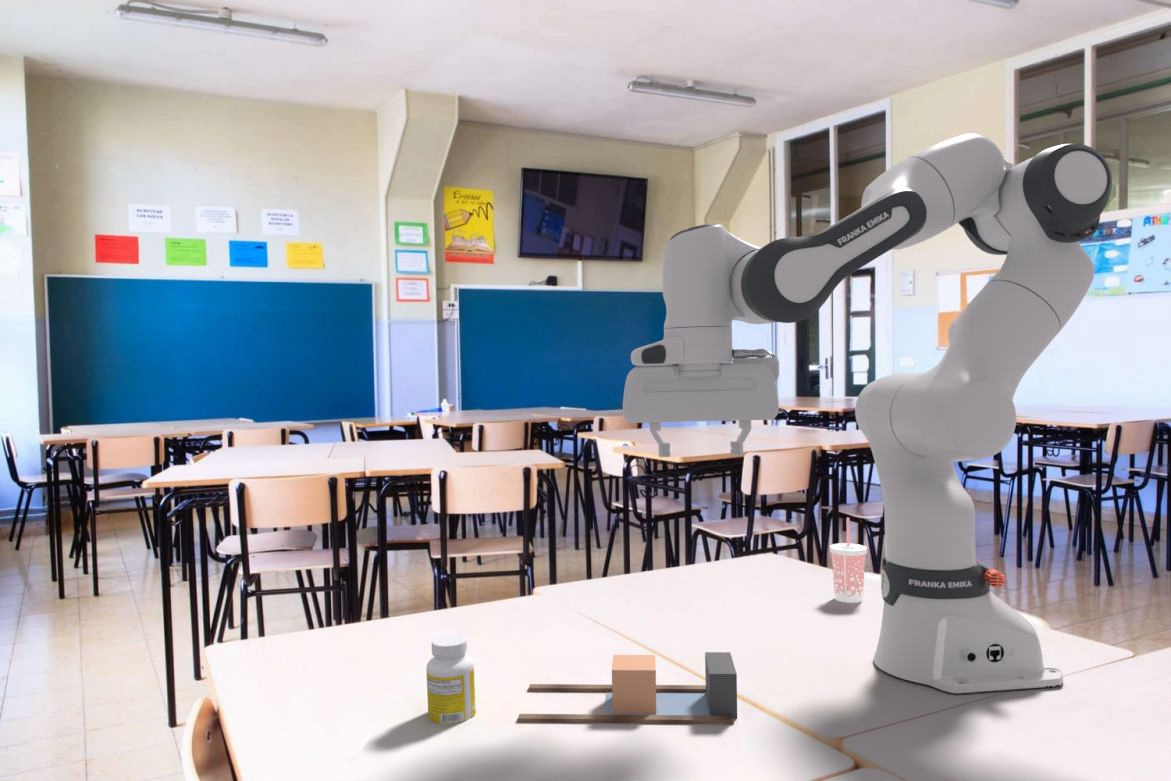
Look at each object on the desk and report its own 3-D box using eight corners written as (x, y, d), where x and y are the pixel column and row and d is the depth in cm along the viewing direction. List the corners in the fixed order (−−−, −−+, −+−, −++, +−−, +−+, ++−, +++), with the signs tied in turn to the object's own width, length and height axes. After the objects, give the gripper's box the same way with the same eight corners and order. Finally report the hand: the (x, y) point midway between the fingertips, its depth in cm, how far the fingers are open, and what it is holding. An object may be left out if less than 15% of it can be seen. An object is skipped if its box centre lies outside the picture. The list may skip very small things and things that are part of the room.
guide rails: (725, 698, 102) (725, 685, 102) (734, 734, 92) (733, 720, 92) (530, 696, 104) (530, 684, 104) (518, 732, 94) (517, 718, 94)
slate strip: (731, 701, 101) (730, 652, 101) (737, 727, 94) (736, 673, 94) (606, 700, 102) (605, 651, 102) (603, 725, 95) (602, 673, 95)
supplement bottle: (453, 710, 101) (451, 629, 100) (485, 722, 97) (483, 638, 97) (418, 726, 96) (415, 641, 96) (450, 738, 93) (447, 651, 93)
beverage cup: (871, 596, 144) (870, 516, 144) (862, 606, 139) (861, 522, 139) (835, 592, 148) (834, 513, 147) (825, 601, 143) (824, 519, 142)
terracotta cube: (655, 696, 100) (655, 655, 100) (656, 713, 95) (655, 670, 95) (614, 695, 101) (613, 654, 101) (612, 713, 96) (611, 670, 96)
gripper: (774, 348, 112) (776, 451, 113) (621, 352, 113) (624, 454, 114) (782, 347, 106) (784, 457, 106) (620, 352, 107) (623, 460, 108)
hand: (700, 456), depth 110 cm, fingers open, 8 cm apart
